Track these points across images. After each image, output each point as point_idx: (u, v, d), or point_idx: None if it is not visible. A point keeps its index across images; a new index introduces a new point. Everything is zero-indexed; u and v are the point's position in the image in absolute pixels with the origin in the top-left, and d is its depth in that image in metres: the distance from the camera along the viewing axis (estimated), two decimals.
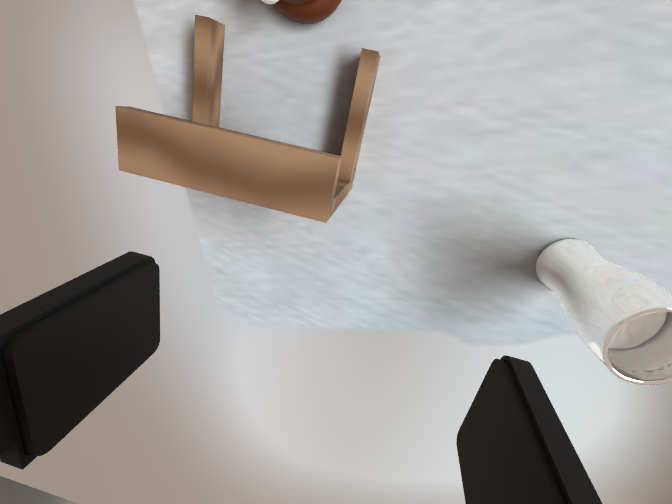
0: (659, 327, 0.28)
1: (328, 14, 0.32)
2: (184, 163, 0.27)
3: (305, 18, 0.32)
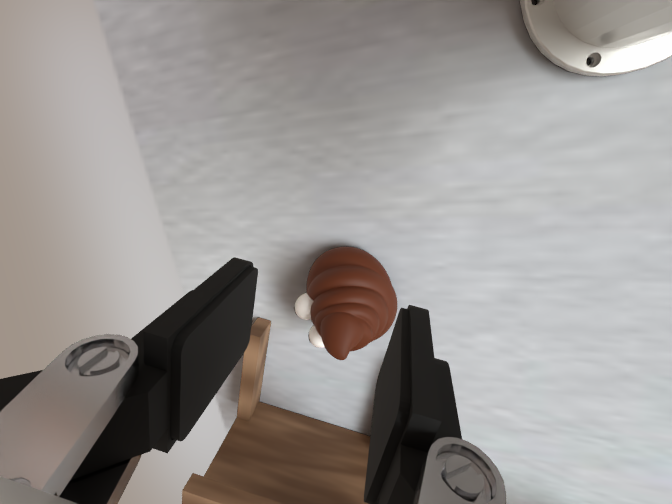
0: None
1: None
2: None
3: None
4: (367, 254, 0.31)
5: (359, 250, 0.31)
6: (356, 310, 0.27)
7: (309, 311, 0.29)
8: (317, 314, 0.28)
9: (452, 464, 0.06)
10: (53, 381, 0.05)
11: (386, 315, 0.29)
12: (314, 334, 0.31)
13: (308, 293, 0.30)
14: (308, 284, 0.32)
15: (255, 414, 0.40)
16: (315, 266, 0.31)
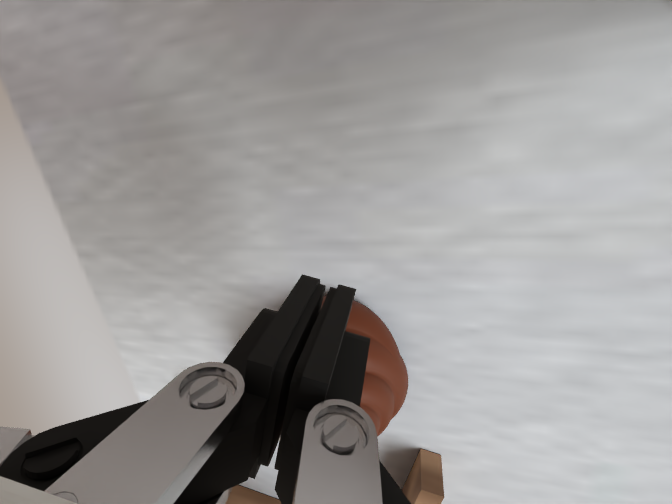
0: None
1: None
2: None
3: None
4: (363, 310, 0.20)
5: None
6: None
7: None
8: None
9: (329, 425, 0.06)
10: (174, 416, 0.05)
11: (391, 409, 0.19)
12: None
13: None
14: None
15: None
16: None
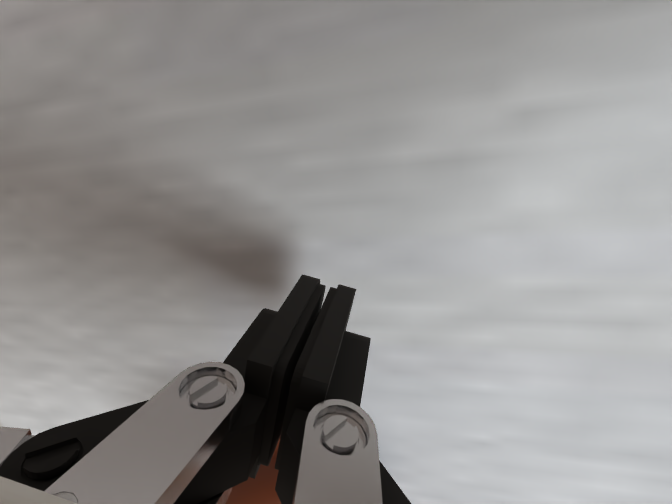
0: None
1: None
2: None
3: None
4: None
5: None
6: None
7: None
8: None
9: (329, 425, 0.06)
10: (175, 416, 0.05)
11: None
12: None
13: None
14: None
15: None
16: None
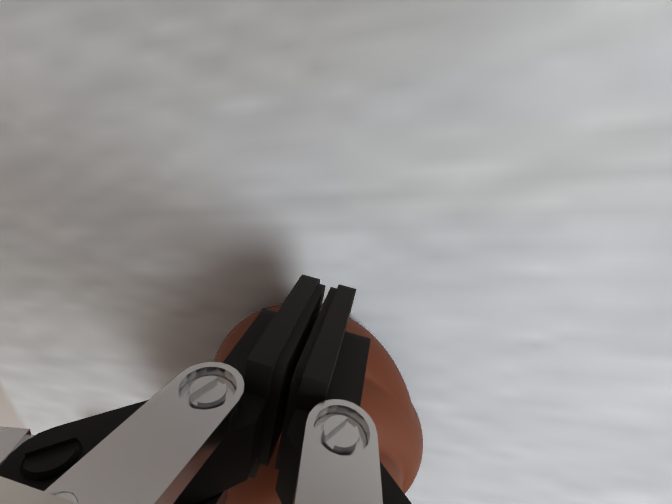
0: None
1: None
2: None
3: None
4: (353, 329, 0.12)
5: None
6: None
7: None
8: None
9: (330, 425, 0.06)
10: (174, 416, 0.05)
11: None
12: None
13: None
14: None
15: None
16: (222, 353, 0.13)
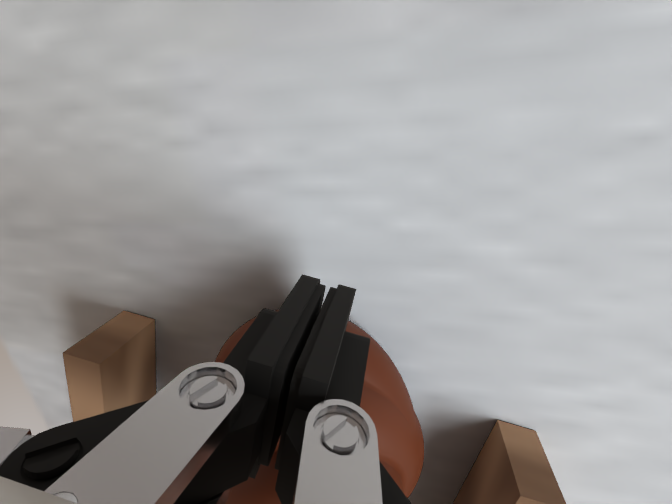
0: None
1: None
2: None
3: None
4: None
5: None
6: None
7: None
8: None
9: (329, 425, 0.06)
10: (174, 416, 0.05)
11: None
12: None
13: None
14: None
15: None
16: (222, 357, 0.12)
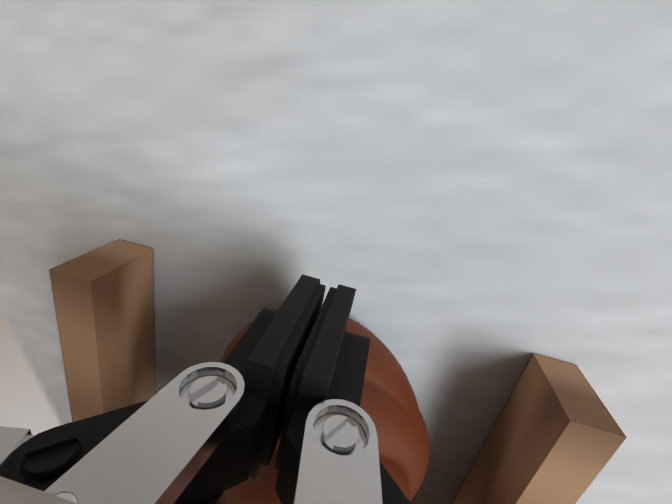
0: None
1: None
2: None
3: None
4: (361, 335, 0.12)
5: None
6: None
7: None
8: None
9: (329, 425, 0.06)
10: (175, 416, 0.05)
11: None
12: None
13: None
14: None
15: None
16: None
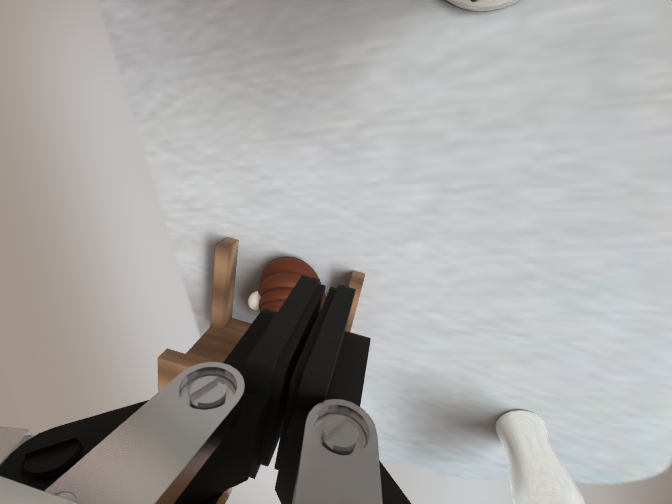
0: None
1: None
2: None
3: None
4: (304, 264, 0.41)
5: (298, 260, 0.41)
6: None
7: (257, 304, 0.40)
8: (262, 306, 0.39)
9: (329, 425, 0.06)
10: (175, 416, 0.05)
11: None
12: None
13: (258, 291, 0.41)
14: (260, 284, 0.42)
15: (227, 326, 0.46)
16: (265, 271, 0.42)
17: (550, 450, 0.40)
